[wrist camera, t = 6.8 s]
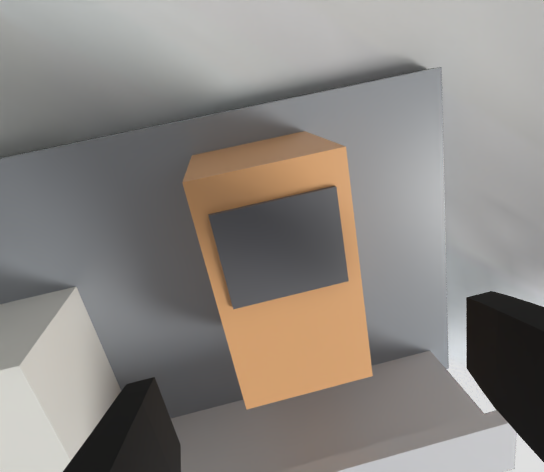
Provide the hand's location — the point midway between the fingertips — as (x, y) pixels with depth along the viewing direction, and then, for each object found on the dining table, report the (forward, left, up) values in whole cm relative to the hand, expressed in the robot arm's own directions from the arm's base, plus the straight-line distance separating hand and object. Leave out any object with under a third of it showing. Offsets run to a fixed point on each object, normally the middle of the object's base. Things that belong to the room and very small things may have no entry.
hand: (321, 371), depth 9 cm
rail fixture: (-2, +3, -9) cm, 10 cm away
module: (0, 0, -8) cm, 8 cm away
